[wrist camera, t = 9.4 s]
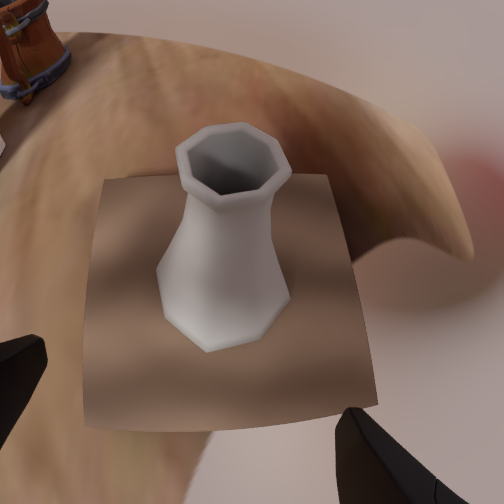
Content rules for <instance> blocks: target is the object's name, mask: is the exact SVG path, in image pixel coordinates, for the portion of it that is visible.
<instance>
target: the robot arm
mask: <svg viewBox="0 0 504 504" xmlns="http://www.w3.org/2000/svg"><path fill="white" fill-rule="evenodd" d="M47 363H48V358H47V353H46V347H45V342H44V340H43V338H41V337H39V336H37V335H34V334H30V335H27V336H23V337H20V338H16V339H13V340H9V341H6V342H2V343H0V450H1V448H2V446H3V444H4V443H5V441H6V439H7V437H8V436H9V434H10V432H11V430H12V429H13V427H14V425H15V424H16V422H17V420H18V419H19V417H20V415H21V414H22V412H23V411H24V409H25V407H26V406H27V404H28V402H29V400H30V398H31V396H32V394H33V392H34V390H35V388H36V386H37V384H38V382H39V380H40V378H41V376H42V374H43V373H44V371H45V369H46V367H47ZM335 451H336V478H337V487H338V495H339V502H340V504H469V503H467V502H466V501H465V500H463V499H462V498H460V497H459V496H458V495H457V494H455V493H454V492H453V491H452V490H450V489H449V488H448V487H447V486H446V485H445V484H443V483H442V482H441V481H440V480H439V479H436V477H435V476H434V475H433V474H432V473H431V472H430V471H429V470H428V469H426V468H425V467H424V466H423V465H422V464H421V463H420V462H419V461H418V460H416V459H415V458H414V457H413V456H412V455H411V454H410V453H409V452H408V451H407V450H405V449H404V448H403V447H402V446H401V445H400V444H399V443H398V442H397V441H396V440H395V439H393V438H392V437H391V436H390V435H389V434H388V433H387V432H386V431H385V430H384V429H383V428H382V427H381V426H379V425H378V423H376V422H375V421H374V420H373V419H372V418H371V417H370V416H369V415H368V414H367V413H366V412H365V411H364V410H363V409H362V408H359V407H347V408H346V409H345V411H344V412H343V414H342V416H341V418H340V420H339V422H338V424H337V426H336V429H335Z"/></svg>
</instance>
